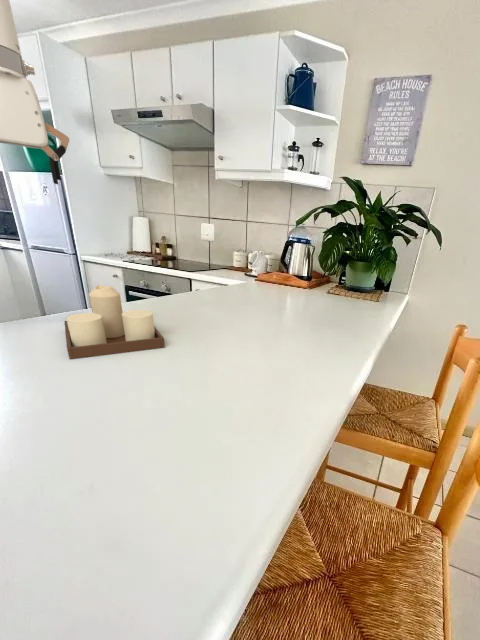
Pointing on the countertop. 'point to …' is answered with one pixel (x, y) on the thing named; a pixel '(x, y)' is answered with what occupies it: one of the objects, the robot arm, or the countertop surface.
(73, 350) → the tray
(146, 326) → the cream candle right
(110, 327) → the candle
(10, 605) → the countertop surface
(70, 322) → the cream candle left
